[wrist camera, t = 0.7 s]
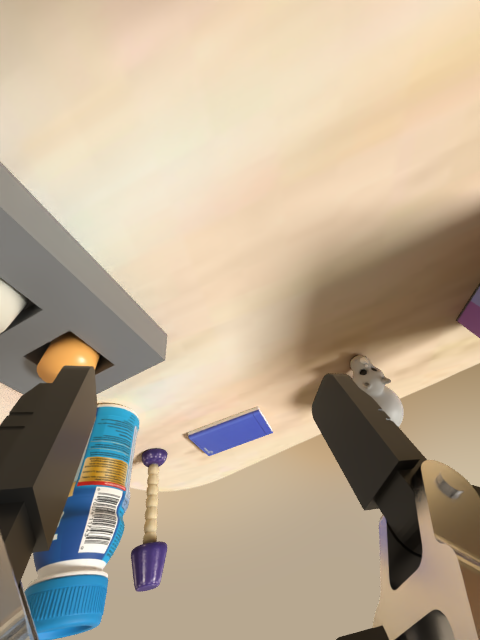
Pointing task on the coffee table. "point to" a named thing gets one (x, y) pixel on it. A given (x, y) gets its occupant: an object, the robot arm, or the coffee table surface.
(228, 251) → the coffee table surface
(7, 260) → the button panel
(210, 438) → the hard drive
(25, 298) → the cream button
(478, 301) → the cereal box
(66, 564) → the beverage bottle
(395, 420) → the round bodied animal figurine
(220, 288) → the coffee table surface
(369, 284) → the coffee table surface
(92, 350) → the orange button
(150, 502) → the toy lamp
